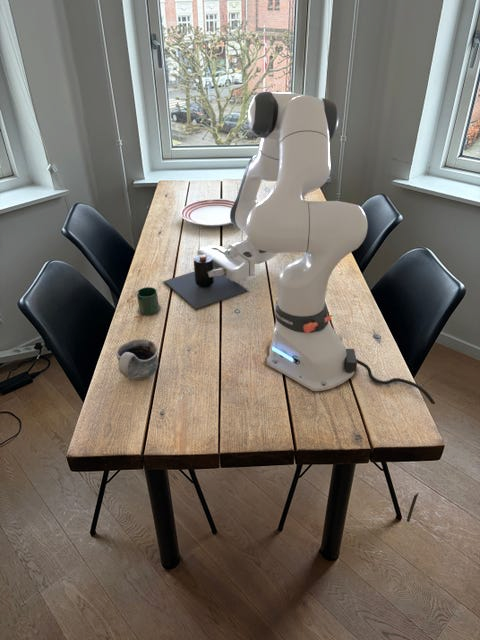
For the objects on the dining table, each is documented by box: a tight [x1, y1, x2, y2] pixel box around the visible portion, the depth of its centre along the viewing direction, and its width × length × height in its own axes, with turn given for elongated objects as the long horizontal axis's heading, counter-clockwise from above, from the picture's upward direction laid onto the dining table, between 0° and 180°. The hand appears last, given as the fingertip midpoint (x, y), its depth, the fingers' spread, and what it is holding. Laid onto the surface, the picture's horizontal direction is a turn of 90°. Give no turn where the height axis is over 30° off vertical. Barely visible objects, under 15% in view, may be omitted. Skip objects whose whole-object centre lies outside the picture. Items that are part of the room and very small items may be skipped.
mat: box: [163, 269, 248, 311], centre depth 148 cm, size 20×18×1 cm
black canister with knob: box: [193, 254, 214, 287], centre depth 145 cm, size 6×6×10 cm
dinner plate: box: [180, 198, 235, 227], centre depth 195 cm, size 27×27×3 cm
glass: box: [136, 286, 160, 316], centre depth 135 cm, size 6×6×6 cm
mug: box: [115, 338, 159, 381], centre depth 109 cm, size 10×12×10 cm
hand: (201, 269), depth 144 cm, fingers closed on black canister with knob, 6 cm apart
